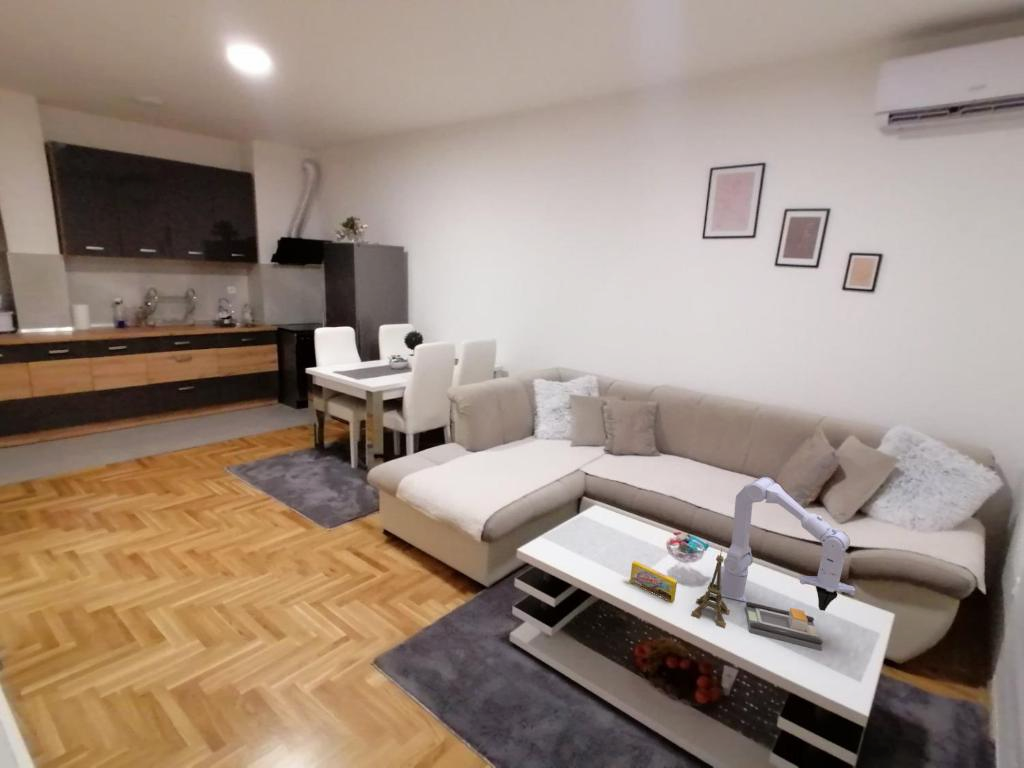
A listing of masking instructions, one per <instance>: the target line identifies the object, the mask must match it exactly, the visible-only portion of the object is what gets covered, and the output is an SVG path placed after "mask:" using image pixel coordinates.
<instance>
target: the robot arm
mask: <svg viewBox="0 0 1024 768" xmlns="http://www.w3.org/2000/svg"><path fill="white" fill-rule="evenodd" d="M764 500H765V502H764V503H765V504H777V505H779V506H780V507H782V508H783V509H784V510H785V511H787V512H788V513H790V514H791V515H793V516H794V517H795V518H796V519H798V521H800V524H801V527H802V528H803V529H804V530H805V531H807V532H808V533H809V534H810V535H811V536H813V537H814V538H815V539H816V540H818V541H819V542H820V543H821V546H822V548H823V552H822V553H821V559H820V563H819V568H818V571H817V572H818V573H817V576H815V575H814V576H812V575H810V576H809V575H799V583H800V584H801V585H803V586H804V585H808V586H809V585H810V586H813V587H815V590H816V593H817V599H818V600H817V601H818V605H817V606H818V609H819V611H823V612H825V611H826V610H827V608H828V606H829V605H830V603H831V602H833V601H834V600H836V599H837V598H838V592H840V593H845V594H848V595H850V596H855V594H856V588H855V587H854V586H853V585H848V584H846V583H843V582H841V581H840V580H841V575H842V572H843V567H844V563H845V557H846V553H847V552H846V550H848V549H849V547H850V545H851V538H850V537H849V536H848V534H846V532H845V531H843V530H840V529H837V528H836V527H832V526H831V525H830V524H829V523H828V522H826V520H824V517H823V516H821V514H818V515H817V514H816V512H815V513H813V512H808V511H807V510H806V509H805V508H803V506H802V505H800V504H799V503H798V502H797V501H795V499H793V498H792V497H791V496H790V495H789V494H788V493H787V492H786V491H784V489H783V488H782V487H781V485H780V484H778V483H777V482H775V481H774V480H773V479H772V478H770V477H767V476H762V477H760V478H757V479H755V480H753V481H752V482H751V483H748V484H746V485H743V488H742V489H741V490H740V491H738V493H737V494H736V496H735V502H734V514H733V523H732V525H733V527H732V536H731V537H732V538H731V544H730V547H729V548H728V550H727V551H726V556H725V558H723V559H724V561H723V566H722V565H721V585H720V586H722V591H721V597H723V598H726V599H727V598H728V599H732V600H736V601H740V602H747V598H746V593H745V590H746V585H747V579H748V574H749V567H750V566H751V565H752V564H753V563H754V558H753V554H752V548H751V547H750V546H749V544H750V535H751V534H750V533H751V524H752V512H753V504H755V503H761V502H763V501H764ZM714 584H716V585H717V577H716V579H715V582H714Z"/></svg>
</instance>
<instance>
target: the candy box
mask: <svg viewBox="0 0 1024 768" xmlns="http://www.w3.org/2000/svg"><path fill="white" fill-rule="evenodd" d="M629 582H630V583H632V584H633V585H635V584H636V585H635V586H637V585H638V586H637V587H639V586H640V587H639V588H641V587H642V588H641V589H643V588H644V589H643V590H645V589H646V590H645V591H647V590H648V591H647V592H649V591H651V592H653V593H655V594H657V595H659V596H661V597H662V598H661V597H660V598H661V599H663V598H664V600H665V599H667V600H669V601H671V602H673V603H674V602H675V600H676V592H677V585H678V579H675V578H673V577H671V576H668V575H666V574H664V573H663V572H660V571H658V570H656V569H654V568H652V567H650V566H647V565H645V564H642V563H641V562H639V561H637V560H634V561H632V562H631V569H630V579H629ZM651 592H650V593H651ZM653 593H652V594H653ZM655 594H654V595H655ZM657 595H656V596H657ZM659 596H658V597H659ZM667 600H666V601H667ZM669 601H668V602H669ZM671 602H670V603H671Z"/></svg>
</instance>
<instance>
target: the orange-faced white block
mask: <svg viewBox="0 0 1024 768" xmlns="http://www.w3.org/2000/svg"><path fill="white" fill-rule="evenodd" d="M806 616H807V615H806V612H805V610H801V609H798V608H793V607H789V616H788V622H789V626H790V628H791V629H795V630H799V631H803V632H805V631H806V626H807V622H808V620H807V617H806Z"/></svg>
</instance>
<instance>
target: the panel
mask: <svg viewBox="0 0 1024 768" xmlns="http://www.w3.org/2000/svg"><path fill="white" fill-rule="evenodd" d="M744 608H745V609H744V610H745V614H746V619H747V624H748V625H747V626H748V629H749V633H750V634H754V635H758V636H763V637H767V638H770V639H775V640H779V641H782V642H786V643H791V644H794V645H798V646H802V647H807V648H810V649H814V650H818V651H822V648H823V645H822V644H823V643H824V642H823V640H822V639H820V637H819V634H818V631H817V629H816V627H815V623H814V622H815V618H814V616H809V615H806V617H807V620H808V622H807V626H806V631H805V632H803V631H799V630H795V629H791V628H790V626H789V622H788V616H789V612H790V610H789V611H788V610H785V609H780V608H776V607H772V606H768V605H765V604H764V605H763V604H759V603H755V602H751V601H746V603H745V606H744Z"/></svg>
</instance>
